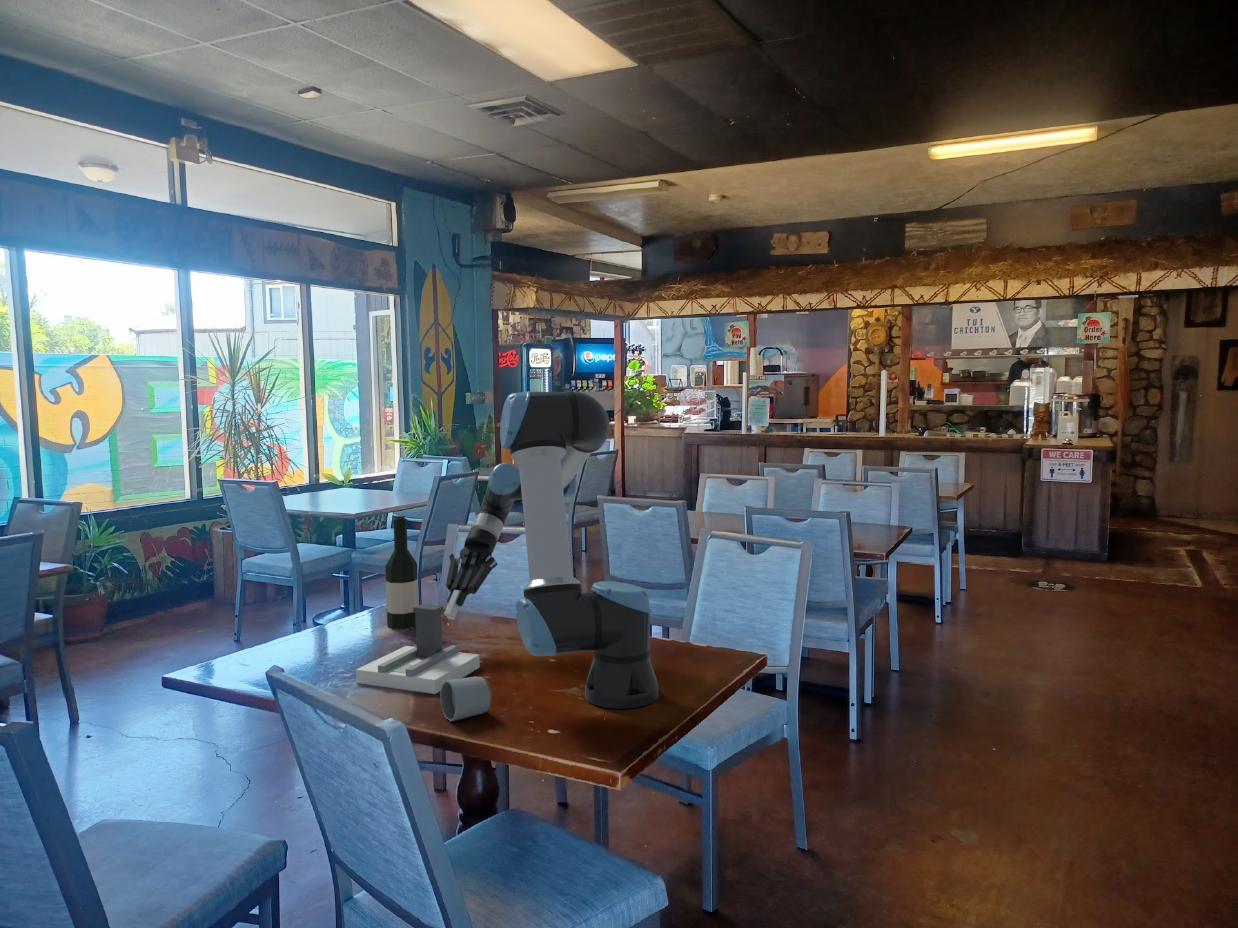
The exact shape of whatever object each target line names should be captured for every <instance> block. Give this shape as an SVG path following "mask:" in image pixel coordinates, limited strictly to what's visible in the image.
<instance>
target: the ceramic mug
mask: <svg viewBox="0 0 1238 928" xmlns="http://www.w3.org/2000/svg"><path fill="white" fill-rule="evenodd" d="M439 699H440V700H439V701H440V706H441V711H442V713H443V716H444V718H445V719H446V720H447V719H448V720H449V722H454V721H459V720H463V719H467V718H471V717H474V716H479V714H480V715H482V714H484V713H487V712H488V711H489V710H490V708H491V706H492V702H493V693H492V688H491V685H490V682H489V681H488V680H487V679H486V678H485V677H484V676H470V677H463V678H461V679H453V680H446V681H445V682H444V683H443V684H442V686H441V691H440V692H439ZM448 720H447V721H448Z"/></svg>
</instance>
